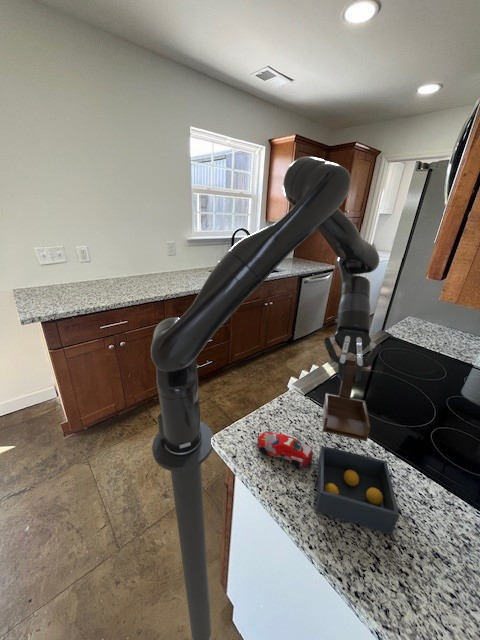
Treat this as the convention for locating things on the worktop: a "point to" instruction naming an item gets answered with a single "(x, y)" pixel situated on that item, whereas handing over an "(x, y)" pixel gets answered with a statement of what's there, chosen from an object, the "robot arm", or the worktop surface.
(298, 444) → the race car
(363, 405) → the scoop
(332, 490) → the ball
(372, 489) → the ball
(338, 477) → the bin
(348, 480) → the ball
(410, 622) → the worktop surface
